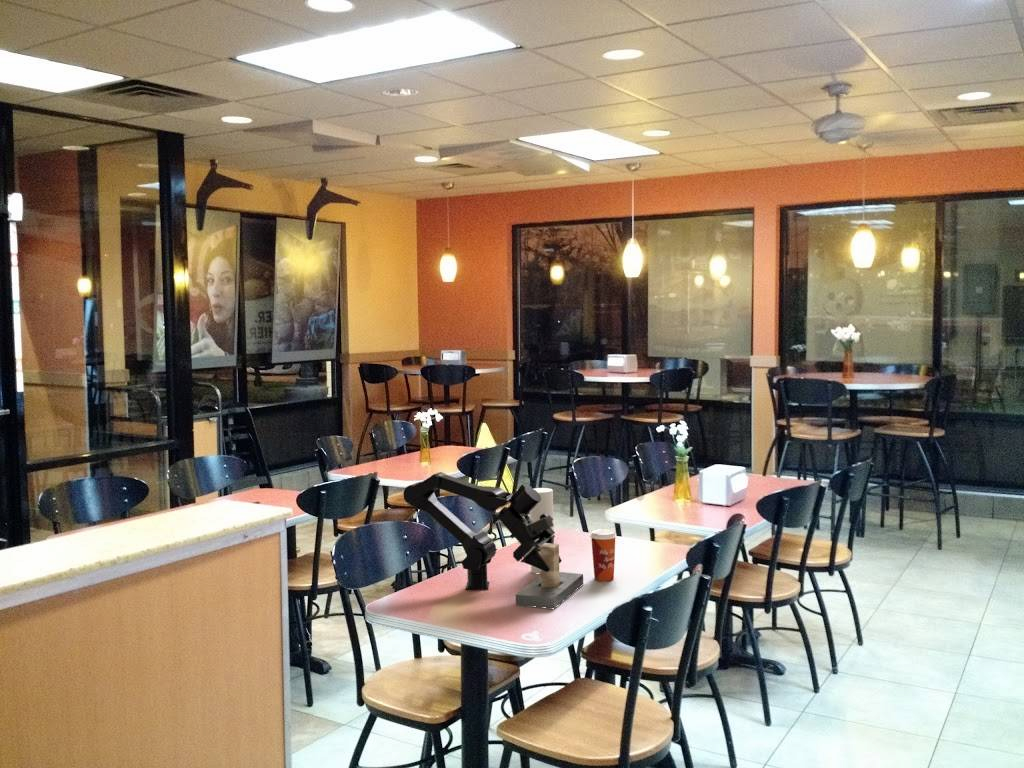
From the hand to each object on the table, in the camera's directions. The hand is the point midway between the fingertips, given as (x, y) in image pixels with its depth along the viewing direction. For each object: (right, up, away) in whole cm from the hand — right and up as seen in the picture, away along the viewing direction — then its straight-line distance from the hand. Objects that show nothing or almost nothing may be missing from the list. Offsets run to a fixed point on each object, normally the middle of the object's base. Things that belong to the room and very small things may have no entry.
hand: (554, 566), depth 255 cm
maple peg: (-1, -8, +1) cm, 8 cm away
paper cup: (+15, -7, +15) cm, 23 cm away
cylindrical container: (-2, -6, +25) cm, 26 cm away
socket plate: (-1, -8, +1) cm, 8 cm away
